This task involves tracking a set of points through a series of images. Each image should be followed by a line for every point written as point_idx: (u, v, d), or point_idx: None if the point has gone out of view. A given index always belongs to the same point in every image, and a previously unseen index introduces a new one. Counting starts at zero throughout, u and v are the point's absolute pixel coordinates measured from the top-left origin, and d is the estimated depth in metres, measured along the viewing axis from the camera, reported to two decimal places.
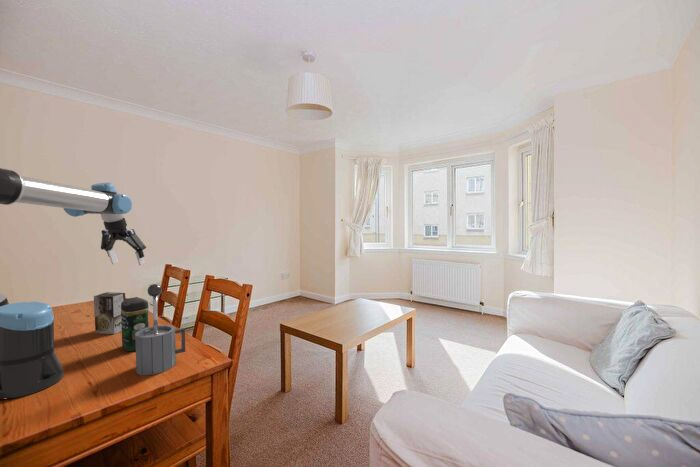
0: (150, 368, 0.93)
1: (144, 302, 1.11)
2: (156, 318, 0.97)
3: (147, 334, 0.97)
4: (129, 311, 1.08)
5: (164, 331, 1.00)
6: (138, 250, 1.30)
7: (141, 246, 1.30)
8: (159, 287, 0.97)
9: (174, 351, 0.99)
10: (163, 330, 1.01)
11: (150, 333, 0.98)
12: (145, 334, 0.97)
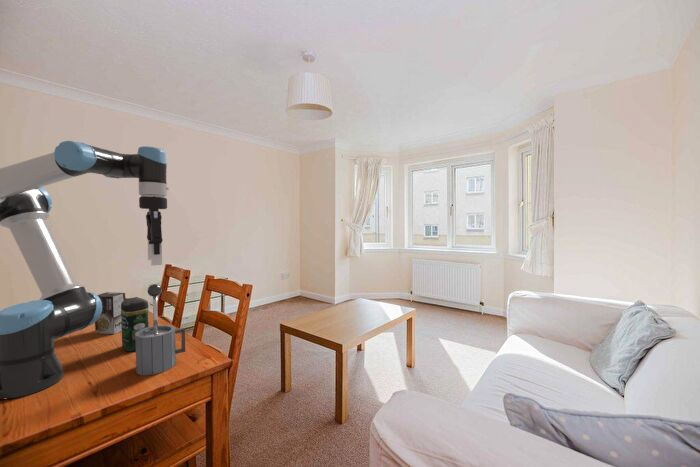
0: (150, 368, 0.93)
1: (144, 302, 1.11)
2: (156, 318, 0.97)
3: (147, 334, 0.97)
4: (129, 311, 1.08)
5: (164, 331, 1.00)
6: (151, 241, 0.89)
7: (155, 236, 0.89)
8: (159, 287, 0.97)
9: (174, 351, 0.99)
10: (163, 330, 1.01)
11: (150, 333, 0.98)
12: (145, 334, 0.97)
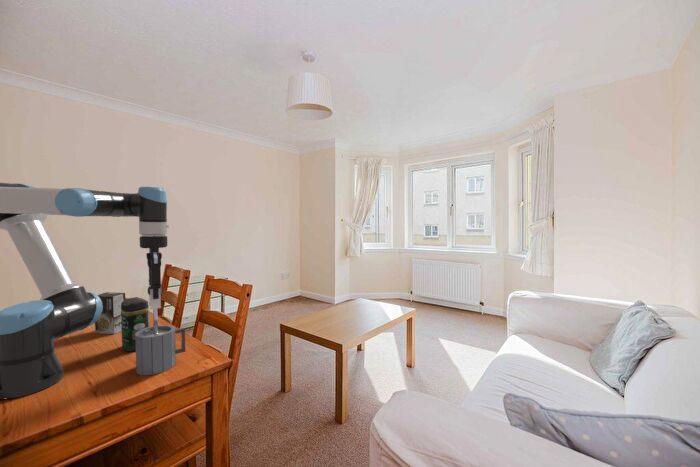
0: (150, 368, 0.93)
1: (144, 302, 1.11)
2: (156, 318, 0.97)
3: (147, 334, 0.97)
4: (129, 311, 1.08)
5: (164, 331, 1.00)
6: (150, 288, 0.93)
7: (154, 283, 0.92)
8: None
9: (174, 351, 0.99)
10: (163, 330, 1.01)
11: (150, 333, 0.98)
12: (145, 334, 0.97)
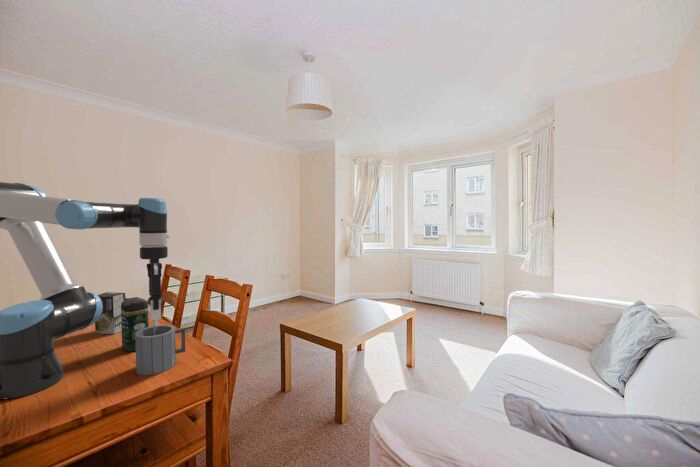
0: (150, 368, 0.93)
1: (144, 302, 1.11)
2: (156, 328, 0.98)
3: None
4: (129, 311, 1.08)
5: None
6: (151, 299, 0.93)
7: (154, 294, 0.92)
8: None
9: (174, 351, 0.99)
10: None
11: None
12: None
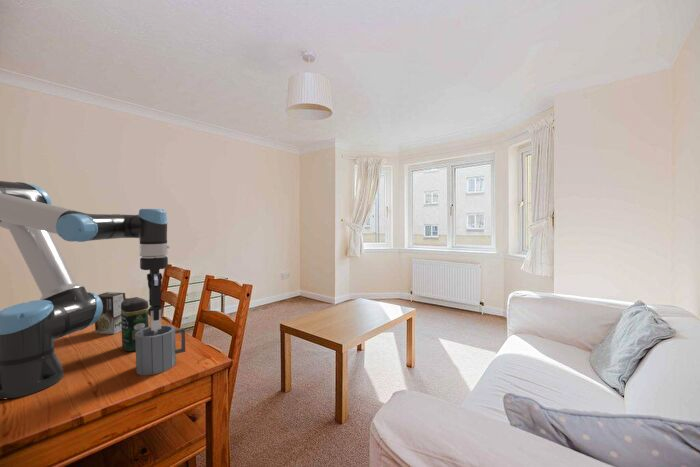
0: (150, 368, 0.93)
1: (144, 302, 1.11)
2: None
3: None
4: (129, 311, 1.08)
5: None
6: (151, 309, 0.94)
7: (154, 305, 0.92)
8: None
9: (174, 351, 0.99)
10: None
11: None
12: None
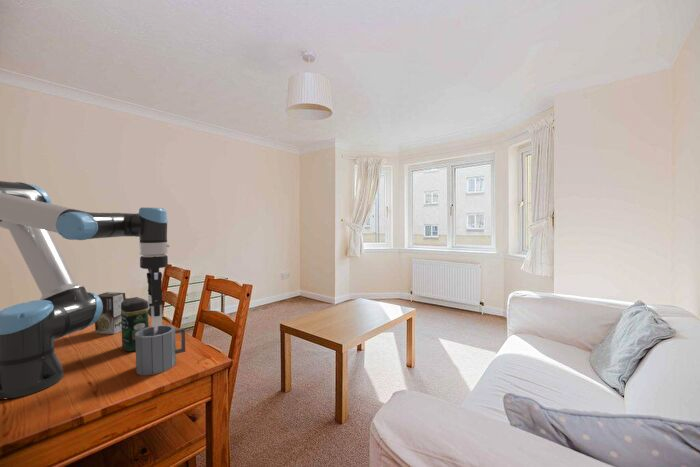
0: (150, 368, 0.93)
1: (144, 302, 1.11)
2: None
3: None
4: (129, 311, 1.08)
5: None
6: (151, 304, 0.90)
7: (155, 299, 0.89)
8: None
9: (174, 351, 0.99)
10: None
11: None
12: None
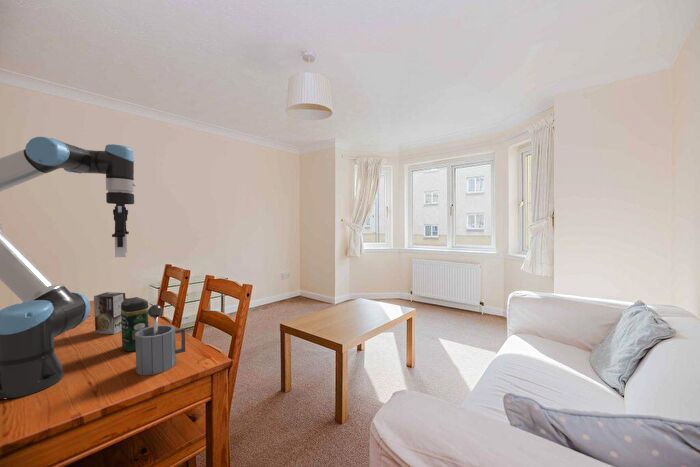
0: (150, 368, 0.93)
1: (144, 302, 1.11)
2: None
3: None
4: (129, 311, 1.08)
5: None
6: (114, 234, 0.94)
7: (117, 229, 0.93)
8: (159, 308, 0.97)
9: (174, 351, 0.99)
10: None
11: None
12: None
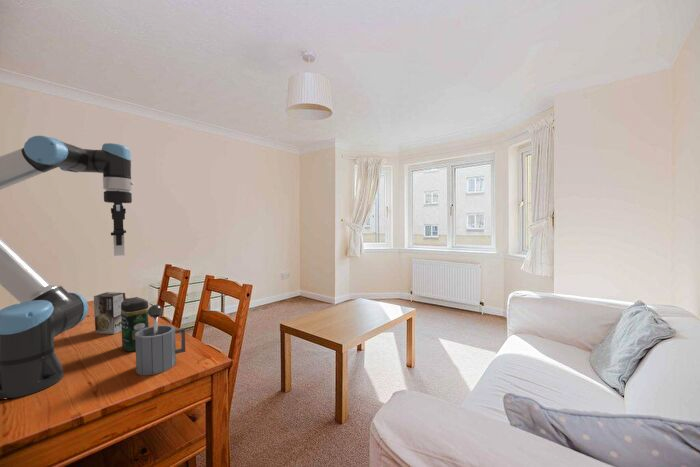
0: (150, 368, 0.93)
1: (144, 302, 1.11)
2: None
3: None
4: (129, 311, 1.08)
5: None
6: (113, 233, 0.94)
7: (116, 228, 0.94)
8: (159, 308, 0.97)
9: (174, 351, 0.99)
10: None
11: None
12: None
